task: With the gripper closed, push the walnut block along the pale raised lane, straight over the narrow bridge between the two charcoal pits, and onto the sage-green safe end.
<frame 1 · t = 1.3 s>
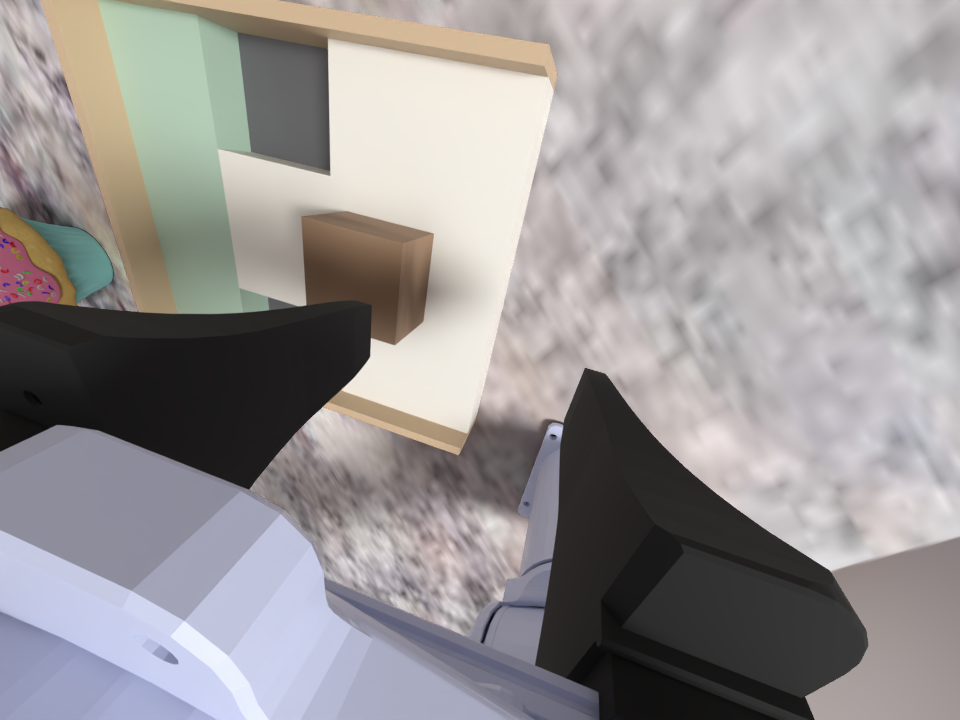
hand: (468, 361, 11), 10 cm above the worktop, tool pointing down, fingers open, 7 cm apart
walnut block: (387, 268, 20), point 2 cm above the worktop, touching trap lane
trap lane: (399, 258, 22), on the worktop
cupcake: (92, 257, 29), on the worktop
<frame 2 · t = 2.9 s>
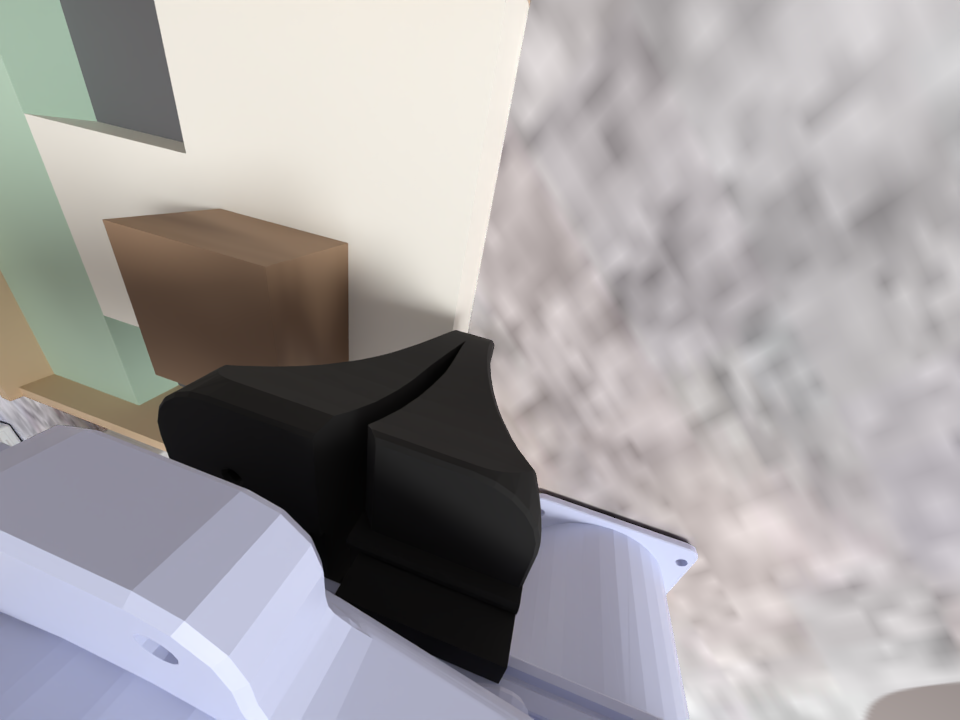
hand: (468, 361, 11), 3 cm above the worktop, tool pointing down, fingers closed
walnut block: (289, 294, 13), point 2 cm above the worktop, touching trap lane
skincare box: (185, 445, 25), on the worktop
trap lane: (320, 274, 15), on the worktop
supplement box: (7, 448, 34), on the worktop
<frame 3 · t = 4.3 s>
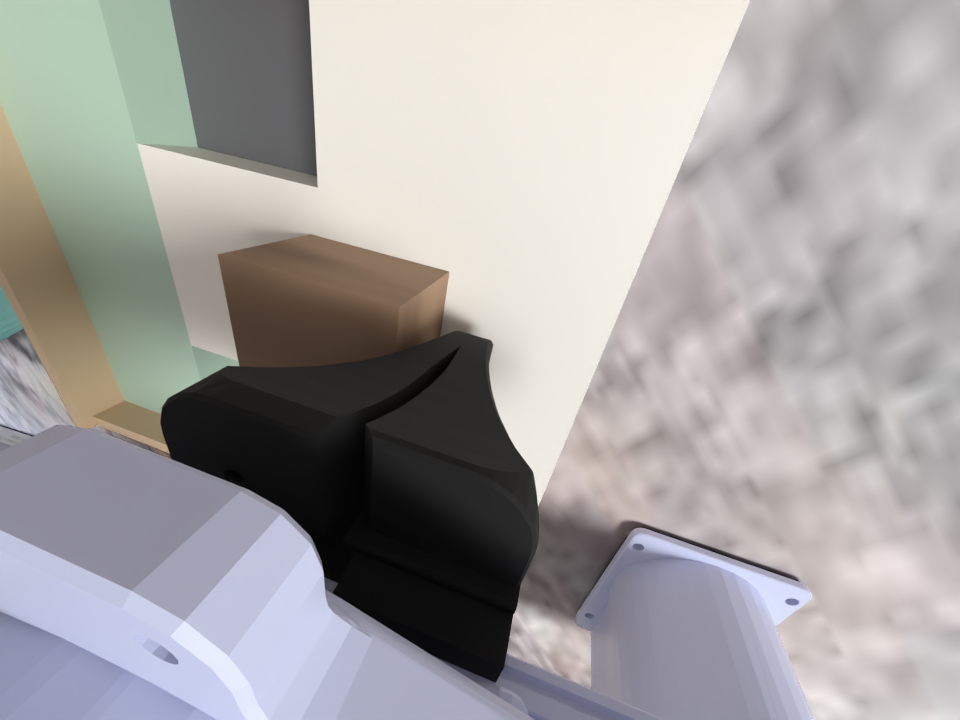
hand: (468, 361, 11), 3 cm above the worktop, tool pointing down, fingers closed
walnut block: (375, 321, 13), point 3 cm above the worktop, touching gripper
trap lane: (424, 305, 15), on the worktop
supplement box: (48, 465, 33), on the worktop
cupcake: (8, 289, 22), on the worktop
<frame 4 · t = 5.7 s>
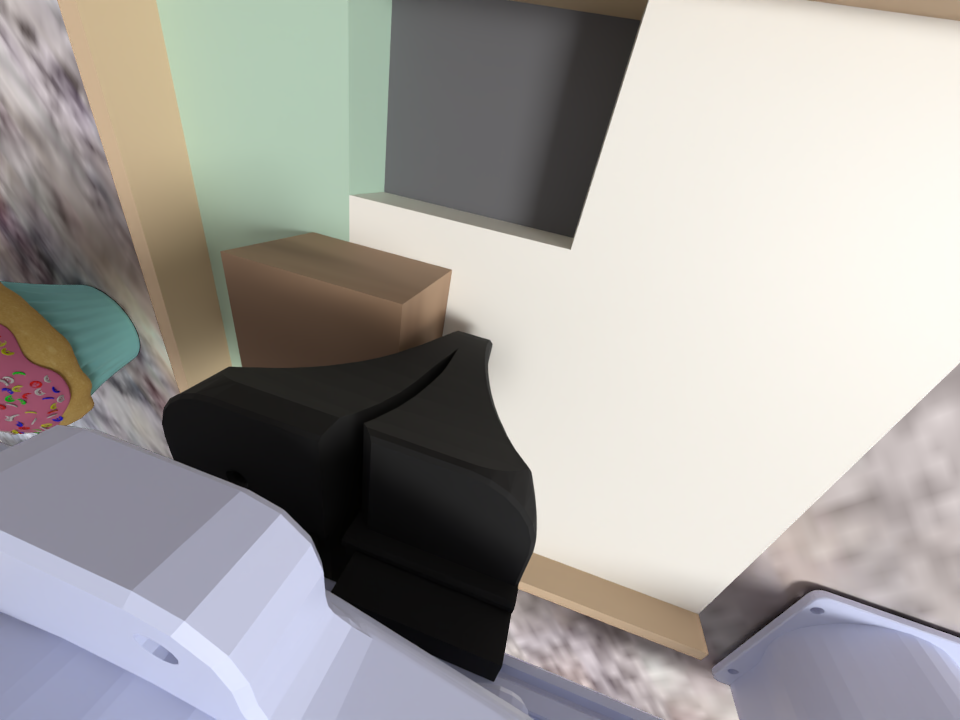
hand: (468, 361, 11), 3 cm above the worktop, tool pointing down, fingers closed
walnut block: (377, 319, 13), point 2 cm above the worktop, touching gripper, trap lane
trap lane: (616, 359, 14), on the worktop
cupcake: (109, 323, 21), on the worktop
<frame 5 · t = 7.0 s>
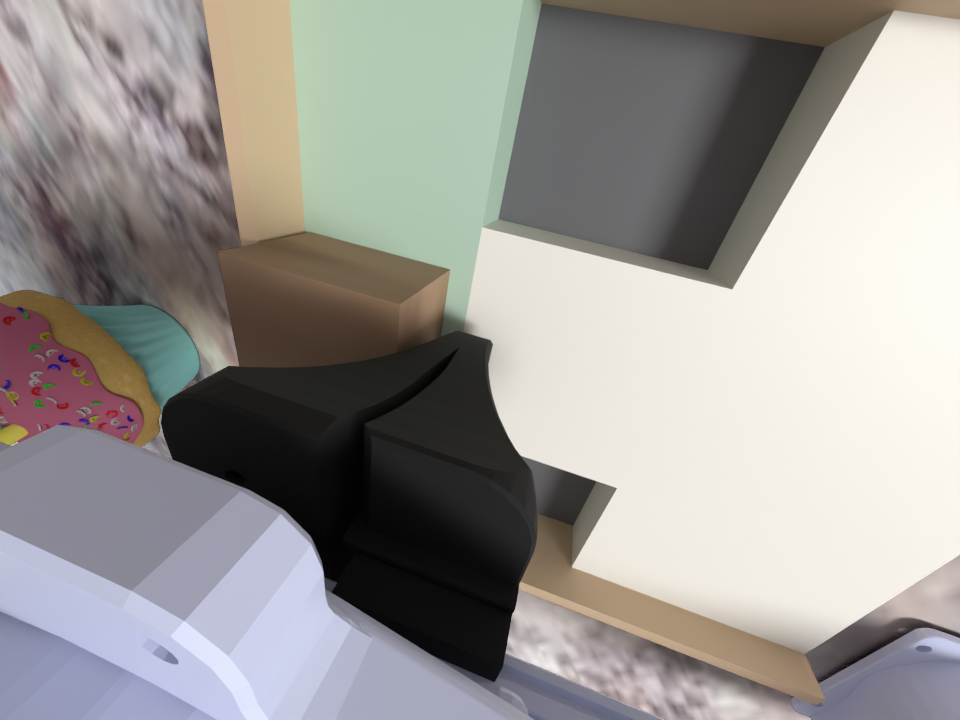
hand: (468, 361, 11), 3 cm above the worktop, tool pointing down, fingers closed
walnut block: (375, 319, 13), point 2 cm above the worktop, touching gripper, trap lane
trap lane: (733, 393, 13), on the worktop
cupcake: (168, 342, 21), on the worktop
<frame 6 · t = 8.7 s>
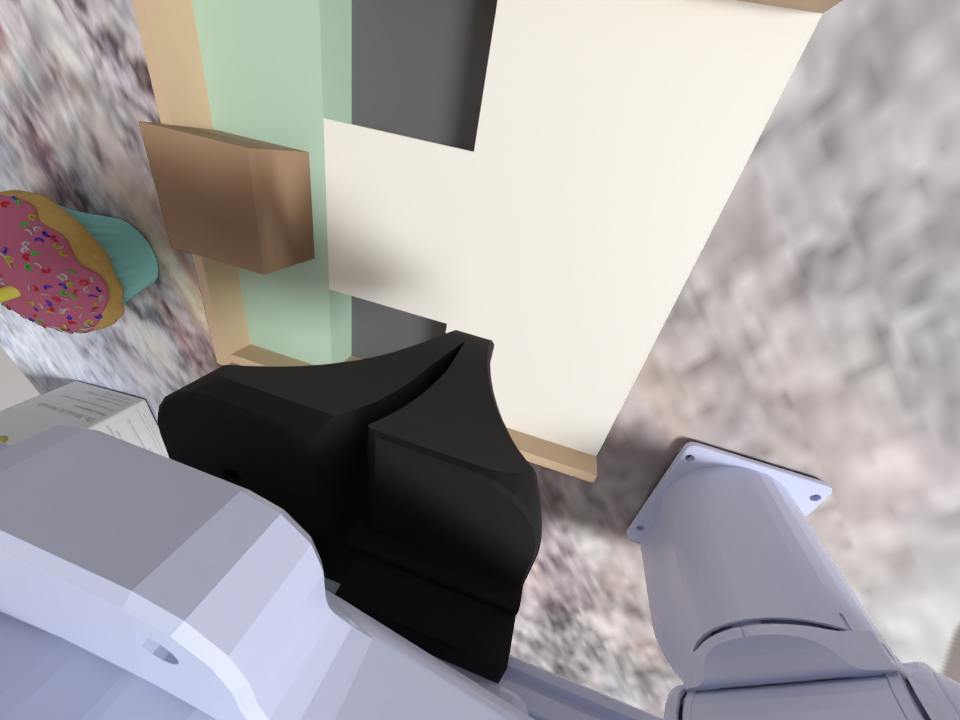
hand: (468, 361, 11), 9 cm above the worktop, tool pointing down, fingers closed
walnut block: (268, 197, 18), point 2 cm above the worktop, touching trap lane
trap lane: (527, 253, 18), on the worktop
supplement box: (131, 423, 37), on the worktop
cupcake: (133, 252, 26), on the worktop
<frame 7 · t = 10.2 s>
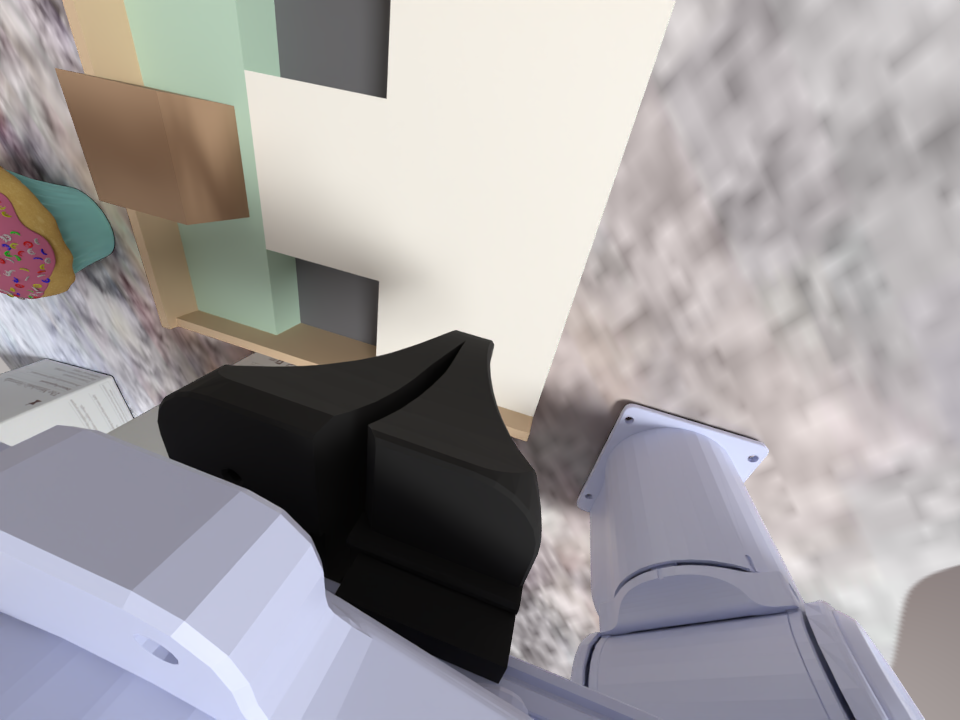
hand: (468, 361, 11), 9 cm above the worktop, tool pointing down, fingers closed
walnut block: (201, 155, 18), point 2 cm above the worktop, touching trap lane
skincare box: (289, 385, 28), on the worktop
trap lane: (457, 210, 18), on the worktop
supplement box: (101, 401, 37), on the worktop
cupcake: (90, 223, 26), on the worktop
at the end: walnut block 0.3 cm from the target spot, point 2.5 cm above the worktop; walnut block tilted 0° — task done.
